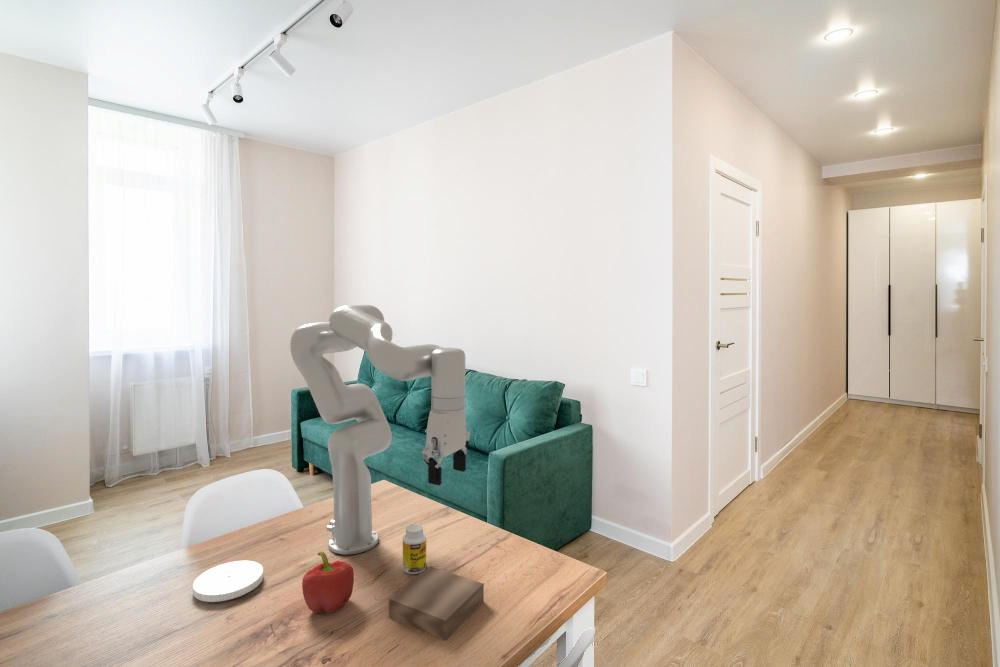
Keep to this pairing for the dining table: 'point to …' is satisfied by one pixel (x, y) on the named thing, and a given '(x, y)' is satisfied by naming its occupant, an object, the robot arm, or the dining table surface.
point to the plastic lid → (228, 581)
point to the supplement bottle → (414, 549)
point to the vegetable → (328, 585)
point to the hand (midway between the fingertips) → (447, 476)
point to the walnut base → (436, 602)
